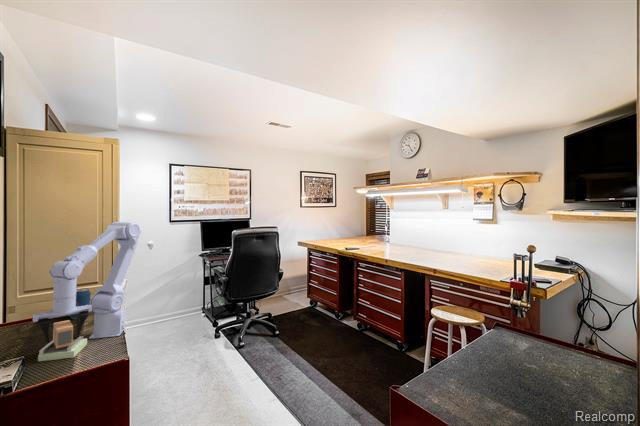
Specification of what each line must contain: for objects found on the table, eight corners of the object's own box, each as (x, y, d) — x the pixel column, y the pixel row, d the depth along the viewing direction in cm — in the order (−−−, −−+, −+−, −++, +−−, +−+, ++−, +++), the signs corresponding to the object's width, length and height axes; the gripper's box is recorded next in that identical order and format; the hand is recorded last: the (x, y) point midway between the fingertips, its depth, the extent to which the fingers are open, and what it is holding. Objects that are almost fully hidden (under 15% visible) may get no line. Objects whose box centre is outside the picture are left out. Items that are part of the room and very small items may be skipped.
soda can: (65, 318, 123) (66, 291, 123) (82, 313, 129) (83, 287, 130) (76, 320, 121) (77, 292, 121) (93, 315, 127) (94, 288, 128)
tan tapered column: (68, 337, 98) (69, 319, 98) (72, 345, 92) (73, 326, 92) (52, 340, 95) (53, 322, 95) (56, 349, 89) (57, 330, 89)
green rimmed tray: (87, 343, 100) (87, 334, 100) (73, 357, 91) (74, 347, 91) (55, 347, 97) (55, 337, 97) (37, 361, 87) (38, 351, 88)
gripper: (89, 290, 102) (88, 328, 102) (33, 298, 91) (31, 340, 91) (94, 294, 97) (92, 333, 97) (34, 303, 86) (32, 347, 86)
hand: (62, 337), depth 94 cm, fingers open, 7 cm apart
